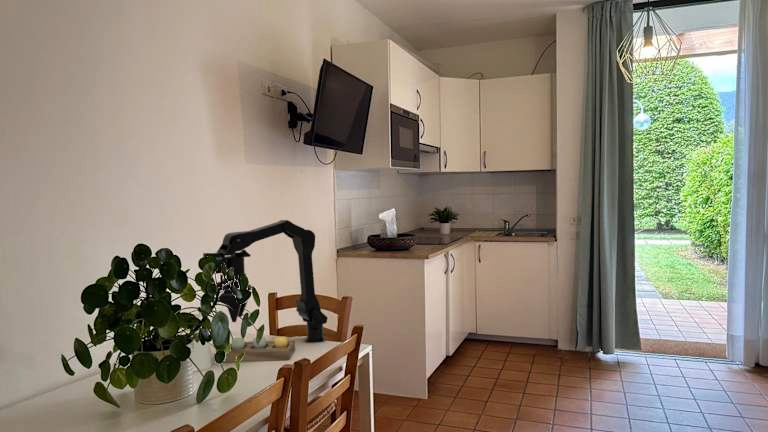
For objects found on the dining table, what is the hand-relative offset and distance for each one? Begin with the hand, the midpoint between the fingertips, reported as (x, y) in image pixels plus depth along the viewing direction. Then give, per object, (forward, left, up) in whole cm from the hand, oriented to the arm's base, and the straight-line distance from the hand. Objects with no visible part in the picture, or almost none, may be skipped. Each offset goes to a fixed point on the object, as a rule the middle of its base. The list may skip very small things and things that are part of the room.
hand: (237, 319), depth 174 cm
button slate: (0, +7, -11) cm, 13 cm away
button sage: (0, 0, -11) cm, 11 cm away
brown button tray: (0, +7, -12) cm, 14 cm away
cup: (+10, -10, -12) cm, 19 cm away
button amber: (0, +14, -11) cm, 18 cm away
